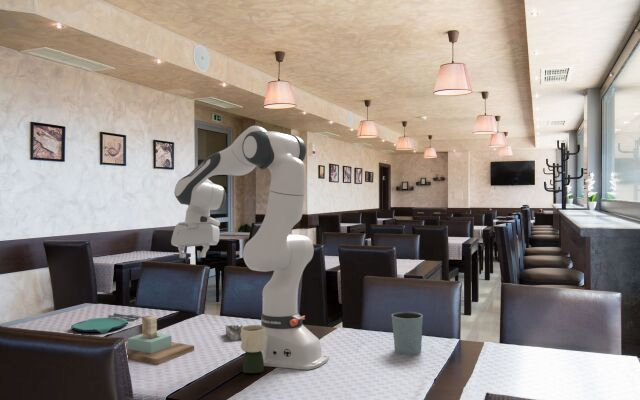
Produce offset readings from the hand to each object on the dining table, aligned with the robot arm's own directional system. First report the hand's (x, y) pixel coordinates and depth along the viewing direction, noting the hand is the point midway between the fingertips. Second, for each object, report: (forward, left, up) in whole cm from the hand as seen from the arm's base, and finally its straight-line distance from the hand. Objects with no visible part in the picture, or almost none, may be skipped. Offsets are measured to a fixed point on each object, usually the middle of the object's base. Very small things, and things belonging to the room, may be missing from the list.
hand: (192, 257), depth 192 cm
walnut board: (-1, +22, -29) cm, 36 cm away
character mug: (-43, +23, -29) cm, 57 cm away
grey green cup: (-77, -16, -29) cm, 84 cm away
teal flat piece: (+41, +3, -29) cm, 51 cm away
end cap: (-1, +22, -27) cm, 35 cm away
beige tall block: (-1, +22, -27) cm, 35 cm away
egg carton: (-16, -6, -29) cm, 34 cm away
